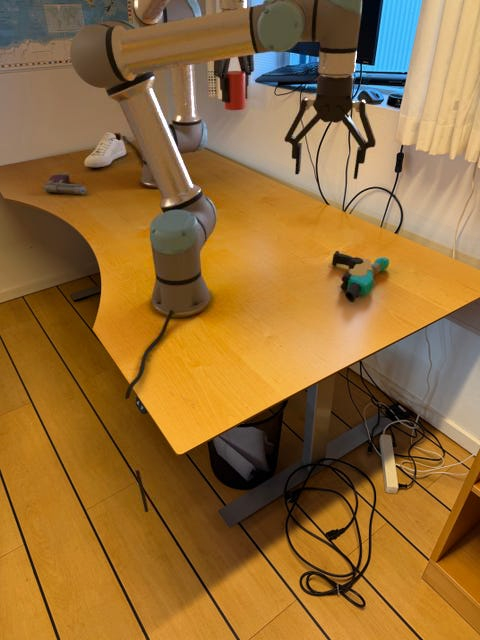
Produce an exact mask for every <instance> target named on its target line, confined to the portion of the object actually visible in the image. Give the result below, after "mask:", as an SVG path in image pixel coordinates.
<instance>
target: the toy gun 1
mask: <svg viewBox="0 0 480 640" xmlns="http://www.w3.org/2000/svg"><path fill="white" fill-rule="evenodd" d="M70 181H71V180H70V175H69V173H55V174H54V175H53V174H52V175H51V176H50V177H49V181H48V182H45V183H44V186H43V187H42V190H43V191H45V192H47V193H56V194H71V195H85V192H86V190H87V187H86V186H85V185H82V184H78V183H76V184H75V183H74V184H73V183H70Z"/></svg>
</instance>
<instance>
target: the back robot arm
mask: <svg viewBox="0 0 480 640" xmlns="http://www.w3.org/2000/svg"><path fill="white" fill-rule="evenodd" d="M218 1H219V9H220V10H221V12H225V11H230V10H236V9H241V8H246V7H248V2H247V1H248V0H218ZM132 16H133V18H134V21H135V22H136V24H137V25H138V26H139V28H141V27H147V26H152V25H157V24H162V23H168V22H173V21H178V20H183V19H188V18H194V17H199V16H202V11H201V8H200V4H199V2H198V1H197V0H133V3H132ZM231 59H232V58H228V59H222V60H216V61H213V76H214V77H217V78H219V90H220V91H221V102H222V103H225V102H226V103H230V95H229V78H227V74H228V71H229V69H230V63H231ZM237 59H238V64H239V69H240V71H243V72H245V100H248V87H249V82H250V81H249V80H250V77H249V76H251V75H252V73H253V72H255V59H254V54H251V55H245V56H240V57H237ZM195 72H196V69H195V64H192V65H187V66H181V67H175V68H171V76H172V90H173V101H174V115H173V116H172V117H171V123H169V122H168V121H167V120H166V122H167V124H168V126H169V129H170V131H171V134H172V136H173V138H174V141H175V143H176V145H177V148H178V150H179V153H180V155H183V154H189V153H196V152H201V151H202V150H204V148H205V147H206V146H207V141H208V129H207V125H206V122H205V121H204V120H202V115H200V114H199V113H198V106H197V90H196V86H197V85H196V73H195ZM122 139H123V141H126V143H128V144H129V145H130V146H132V148H134V150H135V151H136V152H137V154H138V155H139V157H140V159H141V162H142V164H143V166H142V171H141V177H140V183H141V185H142V186H143V187H145V188H149V189H158V187H157V184H156V182H155V180H154V178H153V176H152V174H151V171H150V169H149V167H148V165H147V163H146V161H145V158H144V156H143V154H142V153H140V152H141V151H139V149H138V148H137V147H136V146H135V145H134V144H133V143H132V142H130V140H128V139H126V137H125V135H124V136H123V135H122Z"/></svg>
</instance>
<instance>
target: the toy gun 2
mask: <svg viewBox="0 0 480 640" xmlns="http://www.w3.org/2000/svg"><path fill="white" fill-rule="evenodd" d="M331 265H332V266H334V267H335V266H337V265H342V266H347V267H348V271H347V272H345V273H344V274H343V276H342V277H341V282H342V283H341V284H340V289H341V290H342V291H344V292H345V293H344V296H345V298H346V299H347V300H348V302H350V303H354V302H355V301H356V300H357V299H358V298H359V297H360V295H361V296H366V295H367V294H369V293H370V292H371V291H372V289H373V288H374V286H375V279H374V276H376V275H377V274H378V273H379V272H384V271H385V270H386V269H388V268H389V265H390V259H389V258H388V257H386V256H385V257H384V256H380V257H378V258H376V259H375V260H374V263H373V262H372V260H370V259H368V258H362V257H358V256H357V257H353V256H351V255H348V254H345V253H342V252H341V253H340V251H339V250H336V251H335V252H334V254H333V255H332V262H331Z"/></svg>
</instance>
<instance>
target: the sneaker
mask: <svg viewBox="0 0 480 640" xmlns="http://www.w3.org/2000/svg"><path fill="white" fill-rule="evenodd" d="M126 155H127V148H126V146H125V143H124V138H123V135H122V133H121V132H114V133H113V132H109V131H108V132H105V133H104V134H103V136H102V137H101V140H100V141H99V142H98V143H97V146H96V147H95V149H94V150H93V151H92V152H91V153H90V154H89V155H88V156H87V157H85V160H84V163H83V164H84V166H85V167H86V168H93V169H94V168H95V169H96V168H103V167H107V166H109V165H111V163H112V162H113V161H114V160H117V159H119V158H122V157H125V156H126Z"/></svg>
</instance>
